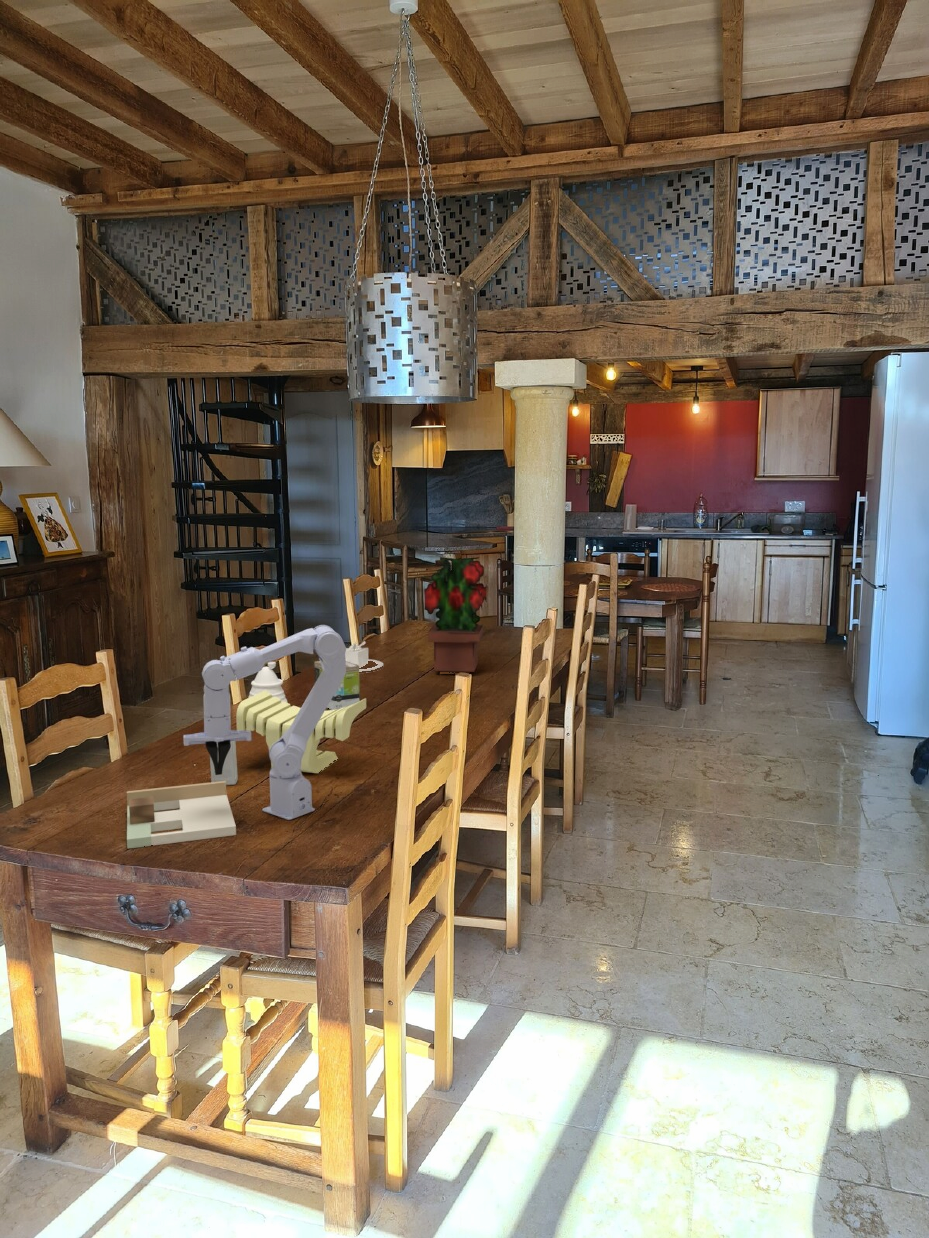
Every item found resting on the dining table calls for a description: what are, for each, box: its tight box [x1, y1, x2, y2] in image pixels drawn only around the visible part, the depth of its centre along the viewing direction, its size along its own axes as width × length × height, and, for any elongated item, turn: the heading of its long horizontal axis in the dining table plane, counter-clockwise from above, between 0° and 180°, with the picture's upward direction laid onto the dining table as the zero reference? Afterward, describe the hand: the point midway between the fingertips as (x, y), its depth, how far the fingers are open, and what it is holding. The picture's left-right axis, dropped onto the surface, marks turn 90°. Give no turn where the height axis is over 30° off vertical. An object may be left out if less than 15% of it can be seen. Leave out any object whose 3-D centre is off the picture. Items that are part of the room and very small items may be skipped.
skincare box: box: [209, 741, 239, 786], centre depth 228 cm, size 6×4×12 cm
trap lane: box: [126, 781, 237, 850], centre depth 202 cm, size 22×22×5 cm
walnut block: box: [129, 797, 155, 825], centre depth 199 cm, size 5×5×4 cm
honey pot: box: [247, 661, 288, 703], centre depth 290 cm, size 13×13×18 cm
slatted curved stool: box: [235, 690, 367, 774], centre depth 241 cm, size 30×16×18 cm, turn 74°
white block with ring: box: [345, 640, 384, 672], centre depth 368 cm, size 25×25×11 cm
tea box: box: [313, 660, 361, 710], centre depth 306 cm, size 15×10×15 cm, turn 34°
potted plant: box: [423, 556, 488, 674], centre depth 357 cm, size 22×22×45 cm
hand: (218, 773), depth 204 cm, fingers closed
